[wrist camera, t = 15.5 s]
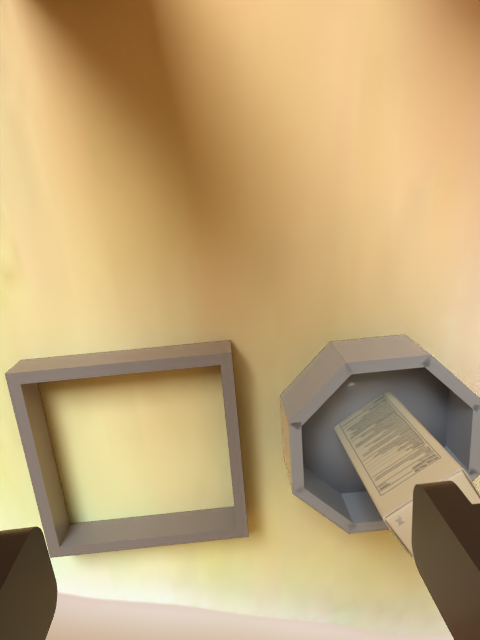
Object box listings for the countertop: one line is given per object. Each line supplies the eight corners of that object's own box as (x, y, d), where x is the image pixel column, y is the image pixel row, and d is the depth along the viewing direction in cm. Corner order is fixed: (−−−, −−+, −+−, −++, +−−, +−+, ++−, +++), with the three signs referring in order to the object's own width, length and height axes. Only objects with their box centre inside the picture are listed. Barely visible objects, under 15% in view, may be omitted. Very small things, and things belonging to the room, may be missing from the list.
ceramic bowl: (277, 346, 40) (285, 368, 35) (457, 329, 40) (490, 348, 35) (286, 501, 44) (295, 539, 39) (448, 484, 45) (476, 520, 40)
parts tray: (20, 360, 39) (4, 373, 36) (230, 340, 39) (231, 352, 36) (61, 533, 44) (50, 557, 41) (246, 514, 44) (248, 536, 42)
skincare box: (355, 459, 42) (409, 564, 30) (331, 425, 41) (377, 521, 29) (415, 422, 41) (494, 514, 30) (392, 386, 40) (464, 468, 29)
